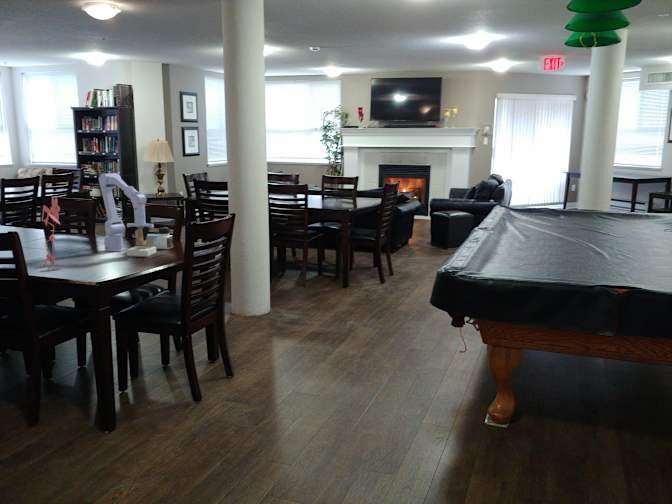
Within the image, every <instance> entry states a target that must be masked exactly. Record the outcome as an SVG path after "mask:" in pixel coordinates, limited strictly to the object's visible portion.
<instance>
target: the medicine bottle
mask: <svg viewBox="0 0 672 504" xmlns="http://www.w3.org/2000/svg"><path fill="white" fill-rule="evenodd" d="M158 234H161V236H160V237H158V238H155V243H156V250H157V249H158V250H160V249H161V250H169V249H171V248H173V247H174V241H173V235H170V228H169V227H159V228H158Z"/></svg>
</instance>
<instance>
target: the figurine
mask: <svg viewBox="0 0 672 504" xmlns="http://www.w3.org/2000/svg"><path fill="white" fill-rule="evenodd" d="M60 211H61V208H60V206H59V205H58V198H57V197H54V196H52V197H51V206H50V208H48V206H46V205H43V206H42V215H41V222H44V224H45V226H46V227H47V226H48V224H49V225H51V227H52V228H53V229H52V234H51V235H50V236H49V237H48V240H46V241H45V242H44V243H45V248H46V251H47V254H46V255H45V256H46V259H45V261H44V264H43V267H45V266H46V265H47V262H48V261H49V262H50V264H49V266H48V268H47V270H49V271H50V269H51V267H52V265H55V263H56V264H57V265H58V267H60V268H61V269H63V267H62V266H61V264H60V263H58V262H57V261H56V259H55V253H54V252H55V251H54V250H55V249H54V248H52V256H51V255H50V253H49V249H48V246H47V243H48V242H50V241H51V242H52V245H51V246H52V247H54V244H55V243H54V242H55V241H56V236H55V235H54V234H55V225H54V224H53V223H51V222H49V218H51V219H52V222H54V223H55V222H56V224H58V225H60V226H61V225H62V224H61V223H60V221H59V213H60ZM45 213H46V214H47V215H46V218H45V219H44V214H45ZM63 263H65V264H73V265H75V266H77V264H76V263H73V262H67V261H64V262H63Z"/></svg>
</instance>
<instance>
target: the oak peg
mask: <svg viewBox="0 0 672 504" xmlns="http://www.w3.org/2000/svg"><path fill="white" fill-rule="evenodd" d="M135 236H136V239H135V246H144V245H145V244H146V240H145V241H144V239H143V230H142V229H139V230H136V231H135Z"/></svg>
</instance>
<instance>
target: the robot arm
mask: <svg viewBox="0 0 672 504" xmlns="http://www.w3.org/2000/svg"><path fill="white" fill-rule="evenodd" d="M121 177H122V176H121V175H120V174H118V173H117V172H112V173H110V172H109V173H101V174H100V175H99V176H98V183H99V186H100V189H101V190H100V191H101V195H102V198H103V199H102V200H103V203H104V208H105V212H106V216H107V220H106V221H105V222H104V230H105V234H106V235H105V236H104V239H103V241H104V242H103V243H104V250H103V251H104V252H119V253H120V252H123V251H125V250H127V248H124V241H123V240H124V239H123V235H124V233H125V231H126V227H127V228H130V230H131V232H132V234H133V235H134V236H135V231H136V230H140V228H142V229H141V230H143V239H144V241H145V240H146V239H147V235H148V234H149V232H150V229H153V228H154V227H155V225H154V223H147V222H146V221H147V220H146V203H147V201H148V198H147V196H146V195H145V193H142V192H141V193H140V192H139V191H138V190H137V189H135V188H134V186H133V185H132V186H131V185H128V184H127V183H126V182H125V181H124V180H123V179H122V178H121ZM116 187H118V188H119V189H121V190H122V191H123V194H124V195H125V196H126V197H127V198H129V199H130V201H131V204H132V207H133V215H134V222H133V223H132V222H131V223H130V222H128V223H126V226H125V224H124V223H123V220H122V219H121V218H119V216H118V212H117V207H116V203H115V200H114V199H115V198H114V196H113V195H114V194H113V190H114V188H116ZM134 236H133V237H134ZM134 239H135V240H136V236H135V237H134Z"/></svg>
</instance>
